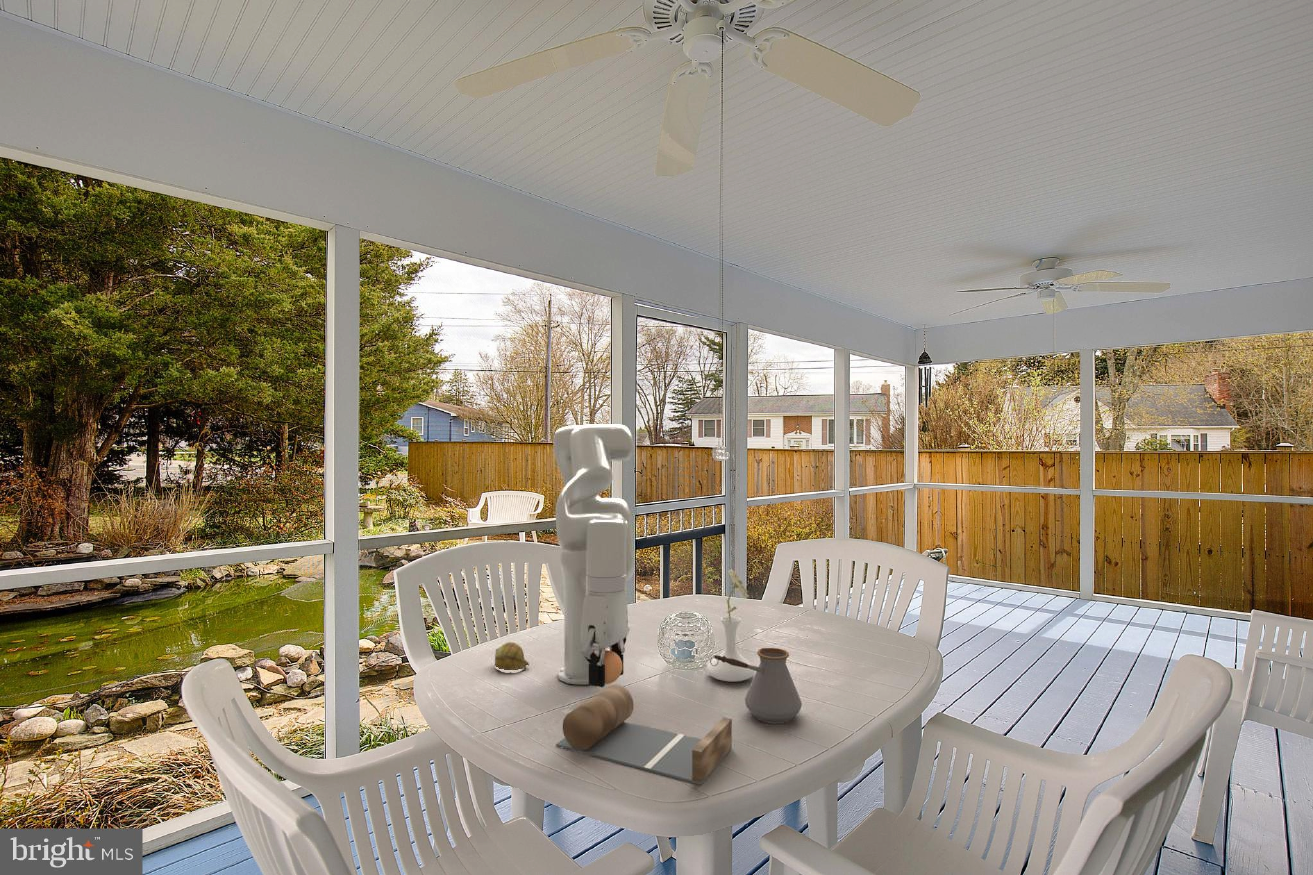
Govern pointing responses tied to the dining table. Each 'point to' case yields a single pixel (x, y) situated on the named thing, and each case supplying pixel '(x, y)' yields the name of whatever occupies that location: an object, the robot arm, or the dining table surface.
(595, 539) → the robot arm
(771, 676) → the coffee pot
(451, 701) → the dining table surface
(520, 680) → the dining table surface
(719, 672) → the flower in vase
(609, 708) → the brown cylinder
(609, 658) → the ball
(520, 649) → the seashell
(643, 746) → the throwing mat
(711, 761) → the backstop board
